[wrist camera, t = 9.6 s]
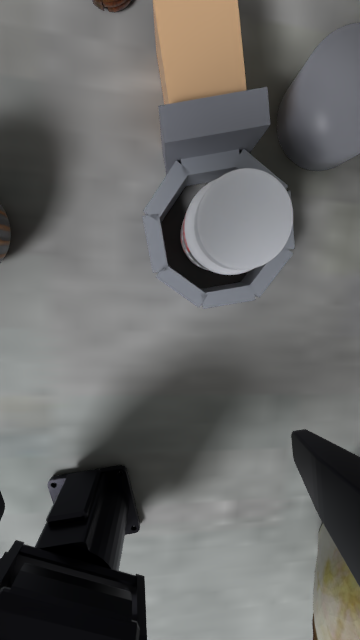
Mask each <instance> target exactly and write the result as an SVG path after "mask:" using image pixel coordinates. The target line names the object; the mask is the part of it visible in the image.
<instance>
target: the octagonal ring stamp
mask: <svg viewBox="0 0 360 640" xmlns="http://www.w3.org/2000/svg"><path fill="white" fill-rule="evenodd" d="M153 11H154V25H155V38H156V52H157V59H158V66H159V72H160V79H161V85H162V91H163V98H164V104H165V105H160V106H158V107H159V119H160V130H161V141H162V151H163V157H164V163H165V169H166V177H165V178H164V180H163V181H162V183H161V184H160V186H159V188H158V189H157V191H156V192H155V194H154V195H153V197H152V198H151V200H150V201H149V203H148V204H147V206H146V207H145V209H144V213H145V215H146V216H142V217H143V223H144V228H145V234H146V239H147V244H148V250H149V255H150V260H151V266H152V271H153V273H154V272H158V274H157V275H156V278H158V279H159V280H160V281H162V282H163V283H165V284H166V285H167V286H169V287H170V288H172V289H173V290H175V291H176V292H177V293H179V294H180V295H182V296H183V297H184V298H186V299H187V300H189V301H190V302H191V303H193V304H194V305H196V306H197V307H200V306H202V307H203V309H205V308H211V307H217V306H222V305H228V304H234V303H240V302H246V301H252V300H255V296H257V297H260V296H261V295H262V294H263V292H264V291H265V290H266V288H267V287H268V286H269V284H270V283H271V282H272V281H273V279H274V278H275V277H276V275H277V274H278V273H279V271H280V270H281V269H282V268H283V266H284V265H285V264H286V262H287V261H288V260H289V259H290V257H291V256H292V255H293V253H292V252H291V251H290V250H289V249H295V243H294V230H293V225H292V230H291V234H290V236H289V239H288V241H287V243H286V244H285V246H284V248H283V249H282V250H281V251H280V253H279V254H278V255H277V256H276V257H274V258H273V259H272V260H271V261H269V262H268V263H266V264H264V265H262V266H260V267H257V268H254V269H252V270H250V271H248V273H247V274H246V275H245V277H244V278H243V279H242V281H241V282H238V283H232V284H226V285H220V286H215V287H209V288H203V289H201V288H199V287H198V286H196V285H195V284H194V283H192V282H191V281H189V280H188V279H187V278H185V277H184V276H183V275H181V274H180V273H178V272H177V271H176V270H174V269H173V268H171V267H170V266H169V265H168V260H167V255H166V249H165V243H164V237H163V232H162V226H161V222H162V221H163V219H164V218H165V216H166V215H167V213H168V212H169V210H170V209H171V207H172V206H173V204H174V203H175V201H176V200H177V198H178V197H179V195H180V194H181V192H182V191H183V189H184V188H185V186H189V185H195V184H201V183H207V182H211V181H213V180H215V179H218V178H219V177H221V176H223V175H224V174H226V173H228V172H231V171H233V170H237V169H243V168H252V169H258V170H262V171H264V172H267V173H269V174H270V175H272V176H273V177H275V178H276V179H277V180H278V181H279V182H280V183H281V184H282V185H283V186H284V188H285V189H286V188H287V187H288V185H287V184H285V183H284V182H283V181H282V180H281V179H279V178H278V177H277V176H276V175H275V174H273V173H272V172H271V171H270V170H269V169H267V168H266V167H265V166H264V165H263V164H262V163H260V162H259V161H258V160H257V159H256V158H254V157H253V156H252V155H251V154H250V152H251V150H252V149H253V148H254V146H255V145H256V144H257V142H258V141H259V140H260V138H261V137H262V135H263V134H264V133H265V131H266V130H267V129H268V127H269V126H270V113H269V101H268V89H267V87H263V88H257V89H251V90H247V89H246V79H245V69H244V58H243V48H242V38H241V28H240V18H239V8H238V0H153ZM287 193H288V195H289V197H290V200H291V191H287Z"/></svg>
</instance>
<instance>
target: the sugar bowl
mask: <svg viewBox="0 0 360 640" xmlns="http://www.w3.org/2000/svg"><path fill="white" fill-rule="evenodd" d="M313 611H314V612H313V640H360V587H359V585H358V584H357V582H356V580H355V578H354V577H353V575H352V573H351V571H350V570H349V568H348V566H347V564H346V563H345V561H344V559H343V557H342V556H341V554H340V552H339V550H338V549H337V547H336V545H335V543H334V542H333V540H332V538H331V536H330V535H329V533H328V531H327V529H326V528H325V526H324V524H322V526H321V528H320V531H319V535H318V554H317V561H316V568H315V577H314V590H313Z"/></svg>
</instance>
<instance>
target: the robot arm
mask: <svg viewBox="0 0 360 640" xmlns="http://www.w3.org/2000/svg"><path fill="white" fill-rule="evenodd" d="M291 438H292V449H293V457H294V461H295V464H296V466H297V468H298V470H299V473H300V475H301V477H302V479H303V482H304V484H305V486H306V488H307V490H308V493H309V495H310V497H311V499H312V502H313V504H314V506H315V508H316V510H317V512H318V515H319V517H320V518H321V520H322V522H323V524H324V526H325V528H326V529H327V531H328V533H329V535H330V536H331V538H332V540H333V542H334V543H335V545H336V547H337V549H338V550H339V552H340V554H341V556H342V557H343V559H344V561H345V563H346V564H347V566H348V568H349V570H350V571H351V573H352V575H353V577H354V578H355V580H356V582H357V584H358V585H359V587H360V457H359V456H357V455H355V454H353V453H351V452H349V451H347V450H345V449H343V448H341V447H339V446H337V445H335V444H333V443H331V442H330V441H328V440H326V439H324V438H322V437H320V436H318V435H316V434H314V433H312V432H310V431H308V430H306V429H303V430H297V431H293V432H292V434H291ZM119 472H123V473H119ZM54 483H56V484H54ZM48 488H49V491H50V495H51V498H52V501H53V506H52V508H51V510H50V512H49V514H48V516H47V519H46V521H47V522H46V524H45V527H44V529H43V531H42V533H41V535H40V537H39V539H38V541H37V543H36V546H35V547H32V546H28V545H25V544H24V542H21V541H18V540H16V541H15V542H14V544H13V545H12V547H11V549H10V550H9V552H5V553H4V555H3V557H2V558H0V640H147V629H146V605H145V581H144V576H142V575H138V574H136V576H135V575H131V574H128V573H124V572H121V571H119V565H120V559H121V554H122V548H123V542H124V536H125V535H126V534H132V533H136V532H138V531H139V529H140V521H139V517H138V513H137V509H136V505H135V500H134V496H133V492H132V488H131V484H130V480H129V476H128V472H127V469H126V467H125V466H122V465H120V466H114V467H107V468H101V469H95V470H89V471H83V472H77V473H71V474H65V475H59V476H54V477H52V478H51V479H50V480H49V482H48ZM4 509H5V503H4V500H3V497H2V494H1V491H0V520H1V518H2V515H3V513H4Z"/></svg>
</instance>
